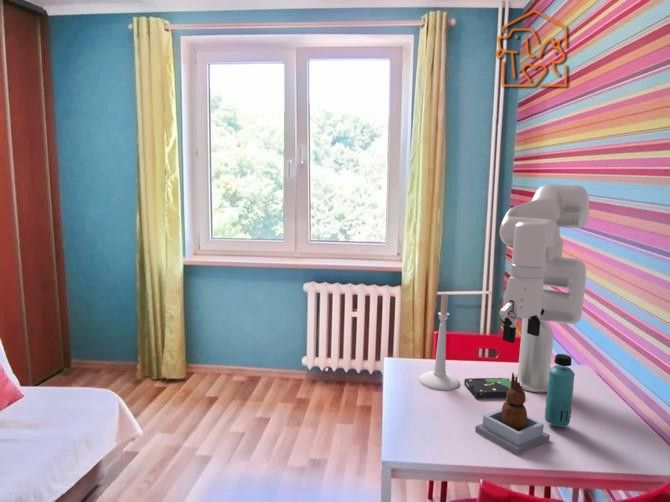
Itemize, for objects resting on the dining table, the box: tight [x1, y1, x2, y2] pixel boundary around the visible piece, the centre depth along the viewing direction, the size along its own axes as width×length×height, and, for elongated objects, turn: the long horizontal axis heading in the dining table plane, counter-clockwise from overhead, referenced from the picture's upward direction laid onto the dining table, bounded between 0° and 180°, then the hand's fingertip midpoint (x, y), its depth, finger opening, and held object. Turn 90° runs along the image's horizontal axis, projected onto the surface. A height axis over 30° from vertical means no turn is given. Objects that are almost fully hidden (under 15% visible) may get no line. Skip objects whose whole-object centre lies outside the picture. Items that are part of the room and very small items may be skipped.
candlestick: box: [418, 292, 460, 391], centre depth 161 cm, size 13×13×30 cm
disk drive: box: [463, 377, 511, 400], centre depth 157 cm, size 10×3×15 cm
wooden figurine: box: [501, 372, 528, 431], centre depth 129 cm, size 7×6×15 cm
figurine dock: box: [474, 408, 551, 456], centre depth 130 cm, size 13×13×4 cm
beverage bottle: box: [543, 353, 576, 427], centre depth 135 cm, size 6×7×20 cm
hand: (521, 338), depth 127 cm, fingers open, 9 cm apart
